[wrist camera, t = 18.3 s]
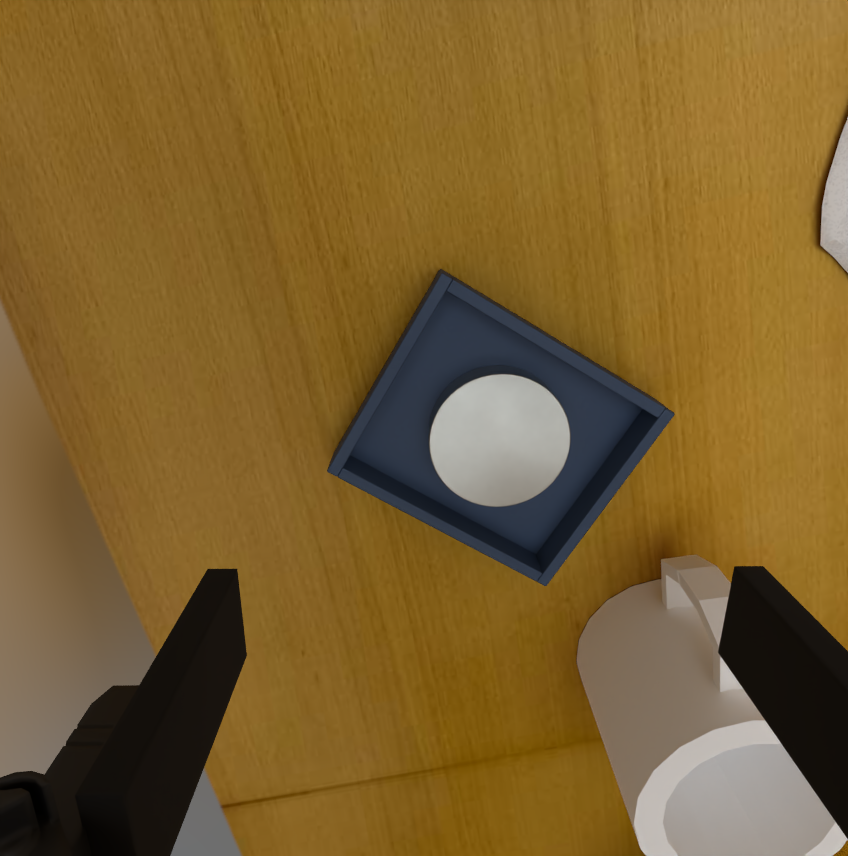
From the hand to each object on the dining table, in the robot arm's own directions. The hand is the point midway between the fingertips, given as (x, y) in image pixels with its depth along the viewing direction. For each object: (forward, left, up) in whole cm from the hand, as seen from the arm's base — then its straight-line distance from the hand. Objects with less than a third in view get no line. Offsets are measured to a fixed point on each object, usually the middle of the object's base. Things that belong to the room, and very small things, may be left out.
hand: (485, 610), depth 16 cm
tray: (+2, +1, -17) cm, 17 cm away
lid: (+2, +1, -15) cm, 15 cm away
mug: (+18, -5, -17) cm, 26 cm away
